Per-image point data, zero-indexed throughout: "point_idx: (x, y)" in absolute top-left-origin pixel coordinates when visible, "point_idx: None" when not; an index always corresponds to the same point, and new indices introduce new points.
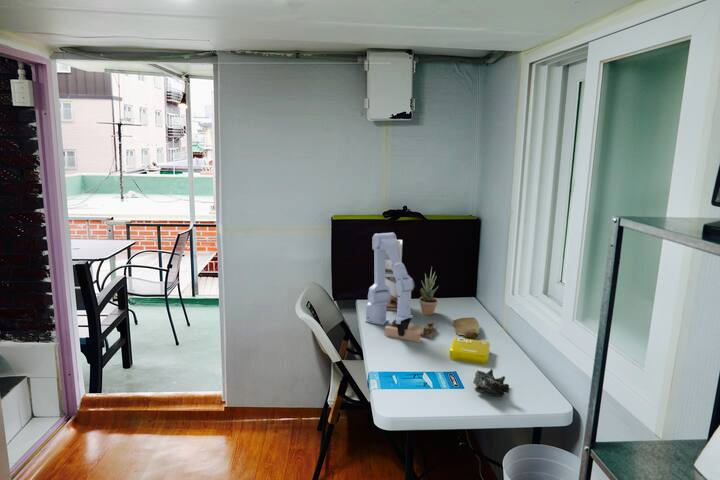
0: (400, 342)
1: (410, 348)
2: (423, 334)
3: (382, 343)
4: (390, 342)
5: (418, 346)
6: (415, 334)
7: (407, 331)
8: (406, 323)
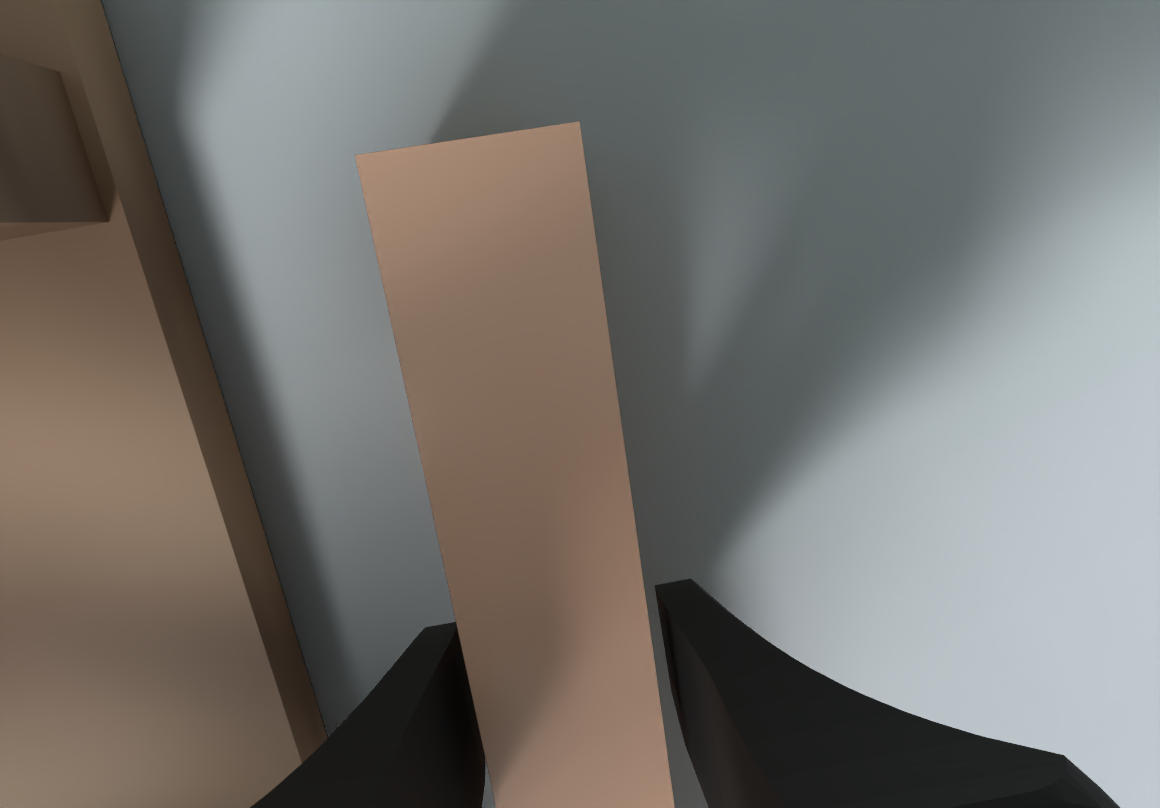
0: (841, 505)
1: (1055, 139)
2: (121, 209)
3: (1078, 751)
4: (953, 664)
5: (835, 17)
6: (593, 269)
7: (616, 570)
8: (1079, 798)
